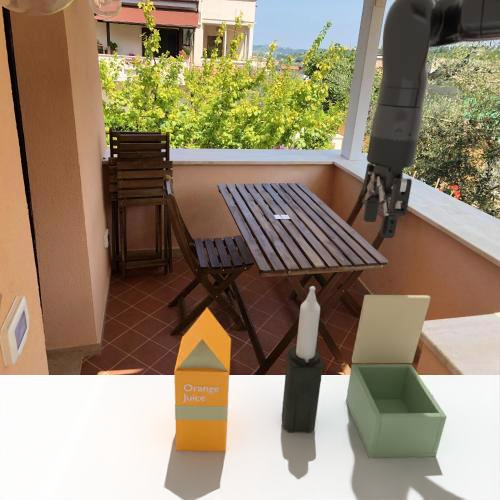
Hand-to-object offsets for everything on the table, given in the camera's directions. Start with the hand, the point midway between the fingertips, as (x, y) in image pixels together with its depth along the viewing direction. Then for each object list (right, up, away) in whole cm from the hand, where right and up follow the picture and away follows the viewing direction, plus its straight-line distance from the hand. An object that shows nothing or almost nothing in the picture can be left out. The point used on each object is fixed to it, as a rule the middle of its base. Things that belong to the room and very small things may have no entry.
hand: (377, 228), depth 76 cm
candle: (-15, -32, -5) cm, 36 cm away
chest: (0, -33, -5) cm, 33 cm away
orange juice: (-30, -33, -7) cm, 45 cm away
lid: (+1, -17, -5) cm, 18 cm away
